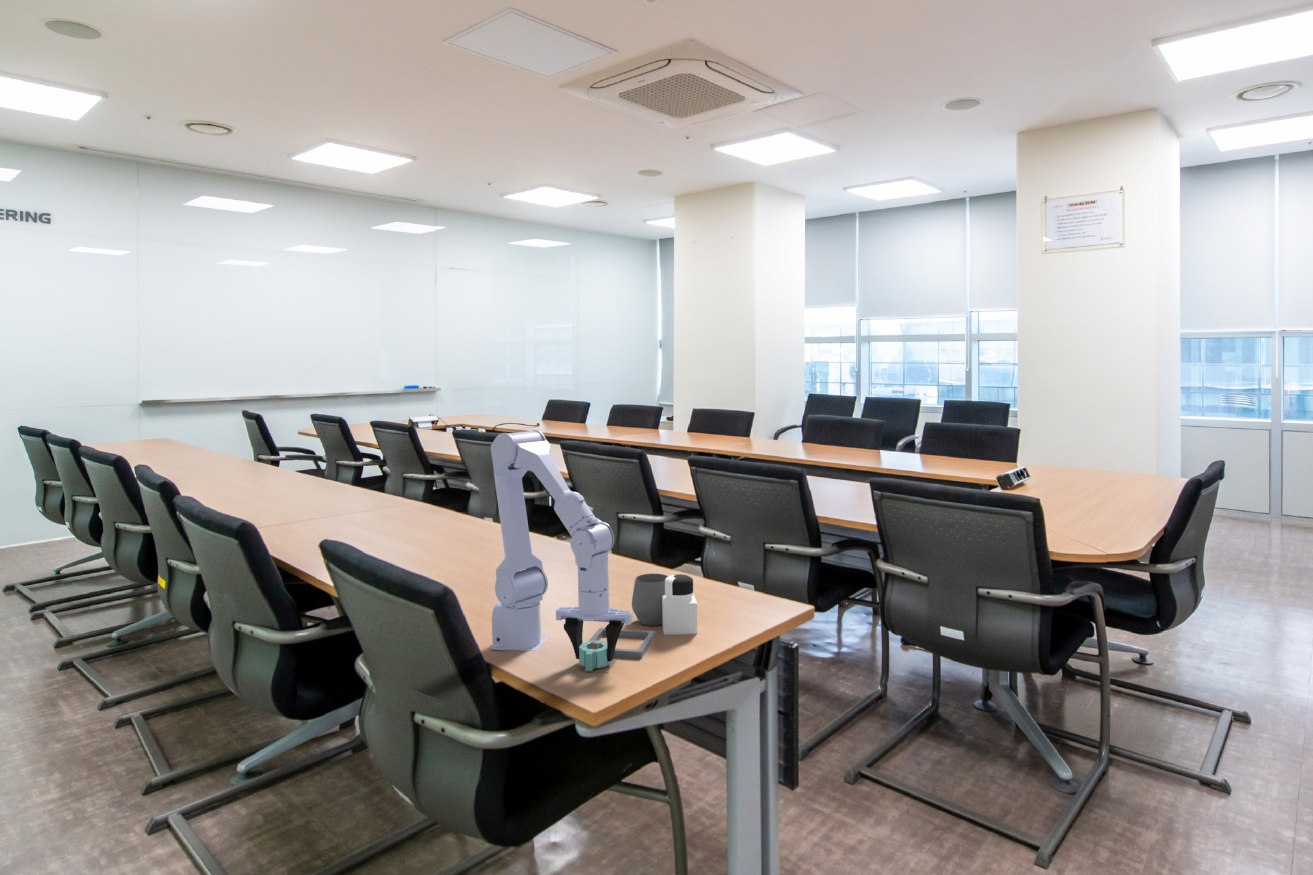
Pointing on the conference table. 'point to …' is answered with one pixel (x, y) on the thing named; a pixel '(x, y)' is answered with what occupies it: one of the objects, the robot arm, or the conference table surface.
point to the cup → (649, 598)
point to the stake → (603, 669)
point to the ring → (593, 656)
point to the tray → (629, 633)
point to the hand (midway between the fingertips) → (594, 658)
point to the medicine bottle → (679, 606)
